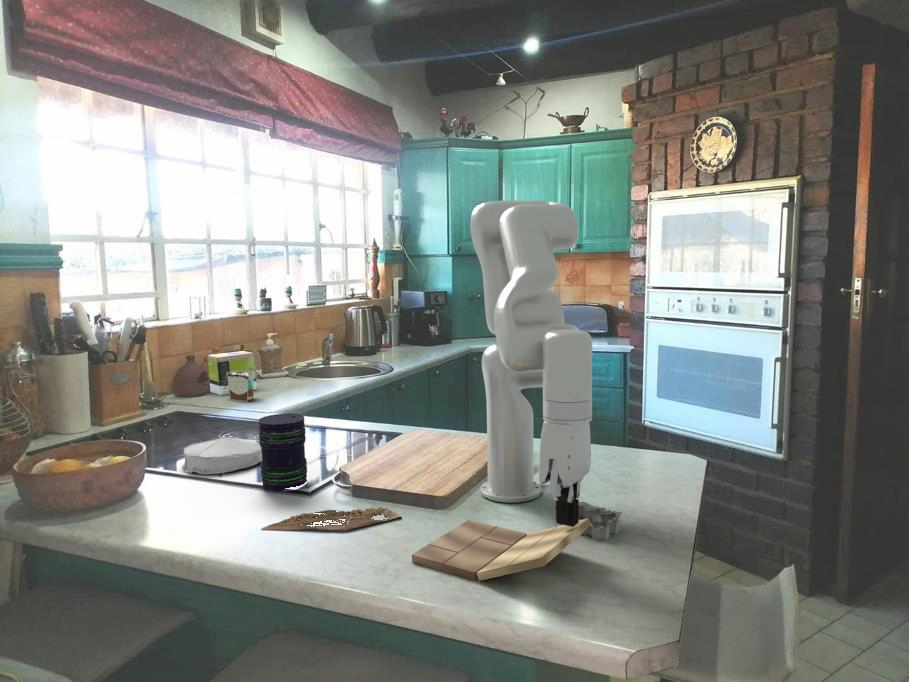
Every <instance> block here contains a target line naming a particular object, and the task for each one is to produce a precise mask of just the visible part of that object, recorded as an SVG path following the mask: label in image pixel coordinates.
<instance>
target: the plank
mask: <svg viewBox="0 0 909 682" xmlns="http://www.w3.org/2000/svg"><path fill="white" fill-rule="evenodd" d="M590 526H591V524H590V522H589V520H588V518H587V519H584V520H583V519H580V520H579V522H578V523H577V524H576V525H575V526H574V527H571V526H566V525H561V526H559V525H556V526H554V527H549V528H547V529H543V530H539V531H535V532H531V533H527V536H525V537H524V538H523V539H521V540H520V541H518V542H517V543H516V544H514V545H513V546H512V547H510V548H509V549H508V550H506V551H505V552H504V553H502V554H501V555H500V556H498V557H497V558H496V559H494V560H493V561H492V562H490V563H489V564H488V565H486V566H485V567H484V568H482V569H481V570H480V571H478V572H477V576H478V578H477V580H478V581H479V582H480V581H485V580H488V579H493V578H497V577H503V576H506V575H511V574H514V573H520V572H523V571H528V570H531V569H536V568H541V567H545V566H546V565H547V564H548V563H550V562H551V560H553V559H554V558H555V557H557V555H559V553H561V552H562V551H563V550H564V549H566V548H567V547H568V546H570V544H572V542H574V541H575V540H576V539H577V538H578V537H580V536H581V535H583V534H582V533H583V532H584V531H585V530H586V529H587V528H588V527H590Z"/></svg>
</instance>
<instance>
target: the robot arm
mask: <svg viewBox="0 0 909 682" xmlns="http://www.w3.org/2000/svg"><path fill="white" fill-rule="evenodd" d="M575 213H576V212H574V210H573V208H571V207H570V206H569V205H568V204H565V203H560V202H556V201H552V200H493V201H486V202H482V203H481V204H478V205H476V206H475V208H473V210H472V213H471V215H470V216H471V217H470V235H471V239H472V240H471V241H472V243H473V249H474V251H475V254H476V256H477V258H478V261H479V264H480V267H481V272H482V282H483V283H482V284H483V296H484V299H483V300H484V312H485V320H486V325H487V328H488V330H489V332H490V333H491V334H493V335H495V340H496V343H493V344H492V345H490V346H488V347H486V349H484V351H483V354H482V357H481V369H482V370H481V371H482V376H483V381H484V389H485V398H486V399H485V400H486V435H487V438H486V440H487V441H486V445H487V447H486V448H487V449H486V451H487V481H485V482H484V483H482V484H481V485H480V495H481V496H483V497H484V498H485V499H487V498H488V500H490V501H494V502H497V503H498V502H499V503H510V504H513V503H524V502H529V501H532V500H535V499H537V498H538V497H540V496H541V494H542V487H541V485H540V484H539V483H541V484H547V483H549V488H548V495H549V496H553V497H554V500H555V507H556V509H555V522H556V524H557V525H558V524H562V525H566V526H571V527H574V526H575V525H576V524H577V523H578V522H579V521H580V520H579V518H580V517H579V502H580V500H579V498H580V496H581V482H582V481H583V479H584V478H585V476H587V475H588V473H589V472H590V470H591V466H592V465H591V464H592V461H591V460H592V444H591V443H592V442H591V441H592V440H591V427H590V422H592V420H593V338H592V336H591V335H590V333H589V332H588V331H585V330H581V329H579V328H578V327H577V326H575V325H572V324H565V314H564V313H565V312H564V308H563V303H562V300H561V298H560V296H559V295H558V294H557V292H556V291H554V290H552V289H550V288H551V287H553V286H554V284H555V283H556V282H557V280H558V277H559V269H558V266H557V265H558V264H557V261H556V258H555V255H554V254H555V253H554V251H563V250H564V251H565V250H570V249H572V248H573V247H574V246H575V245H576V243H577V242H578V238H579V234H580V233H579V232H580V230H579V229H580V227H579V222H578V218H577V215H576V214H575ZM531 388H532V389H533V388H542V420H544V421H543V422H542V423H543V424H542V427H541V434H540V444H539V459H538V461H539V462H538V464H534V411H533V407H532V405H531V403H530V401H528V399H527V398H526V397H525V396H524V395H523V394H522V391H521V390H525V389H531ZM536 474H538V480H539V483H537V482H535V481H534V476H535V475H536Z"/></svg>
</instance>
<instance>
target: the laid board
mask: <svg viewBox="0 0 909 682" xmlns="http://www.w3.org/2000/svg"><path fill="white" fill-rule="evenodd" d="M527 535H528V533H526V532H521V531H518V530H513V529H509V528H504V527H500V526H497V525H492V524H489V523H488V524H487V523H483V522H478V521H474V520H471V519H467V520H466V521H464V522H462V523H461V524H459V525H458V526H456V527H454V528H453V529H451V530H449V531H448V532H446V533H444V534H443V535H441V536H440V537H438V538H436V539H435V540H433V541H431V542H430V543H428V544H427V545H425V546H423V547H422V548H420V549H418V550H417V551H415V552H414V553H412V554H411V562H412V561H413V562H412V563H414V562H415V564H418V563H419V564H418V565H421V564H422V566H424V565H425V566H424V567H428V566H429V567H428V568H431V569H434V568H435V570H438V569H439V570H438V571H441V570H442V571H441V572H446V573H448V572H449V573H448V574H451V573H453V574H452V575H455V576H458V575H459V577H462V578H464V579H465V578H466V579H468V578H469V579H468V580H473V581H476V580H478V576H477V572H478V571H480V570H481V569H482V568H484V567H485V566H486V565H488V564H489V563H490V562H492V561H493V560H494V559H496V558H497V557H498V556H500V555H501V554H502V553H504V552H505V551H506V550H508V549H509V548H510V547H512V546H513V545H514V544H516V543H517V542H518V541H520V540H521V539H523V538H524V537H525V536H527Z"/></svg>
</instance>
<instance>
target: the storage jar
mask: <svg viewBox="0 0 909 682" xmlns="http://www.w3.org/2000/svg"><path fill="white" fill-rule="evenodd" d="M305 424H306V423H305V416H304V415H302V414H299V413H278V414H270V415H266V416H263V417H260V418H258V425H259V426H258V429H259V430H258V438H259V441H258V443H259V445H260V446H261V453H262V455H261V456H262V461H261V462H260V469H261V470H260V476H261V481H262V484H263V488H264V491H265V490H266V491H265V492H268V491H270V492H269V493H276V492H281V493H283V492H282V491H283V490H284V489H285V488H290V487H296V486H300V485H302V484H304V483H305V482H306V481H307V482H308V479H307V478H308V475H307V473H308V466H307V464H308V462H307V458H306V451H305V443H306V439H307V438H306V427H305ZM263 488H262V489H263Z"/></svg>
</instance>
